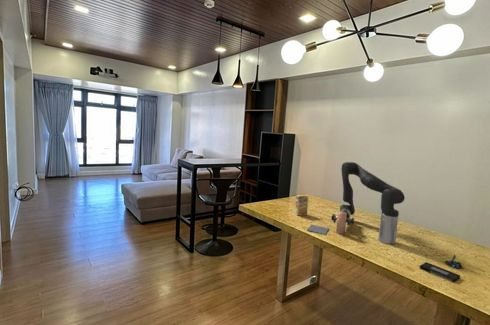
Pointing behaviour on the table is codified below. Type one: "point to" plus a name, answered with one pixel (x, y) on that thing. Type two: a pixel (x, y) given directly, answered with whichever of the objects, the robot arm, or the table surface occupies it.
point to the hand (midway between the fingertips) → (341, 222)
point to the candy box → (301, 205)
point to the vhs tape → (440, 272)
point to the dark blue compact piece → (454, 263)
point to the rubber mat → (318, 229)
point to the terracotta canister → (341, 223)
